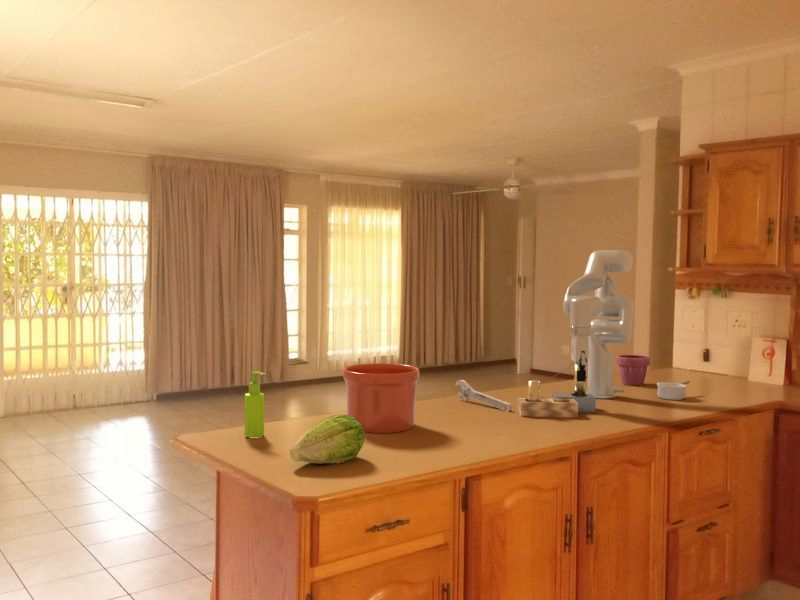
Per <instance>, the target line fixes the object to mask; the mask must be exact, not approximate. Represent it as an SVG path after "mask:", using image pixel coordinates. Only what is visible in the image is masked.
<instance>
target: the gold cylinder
mask: <svg viewBox="0 0 800 600" xmlns="http://www.w3.org/2000/svg"><path fill="white" fill-rule="evenodd" d="M574 368H575V377H574V376H573V377H574V382H573V383H574V387H573V388H574V390H573V391H574V396H585V391H586V387H587V386H586V385H587V384H586V381H587V380H586V381H585V382H584V381H577V370H578V364H575V363H574Z"/></svg>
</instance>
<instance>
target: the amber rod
mask: <svg viewBox="0 0 800 600" xmlns="http://www.w3.org/2000/svg"><path fill="white" fill-rule="evenodd" d="M527 383H528V385H527V386H528V389H527V398H528V402H539V398H540V397H541V396H540V391H541V390H540V388H541V381H540V380H537V379H536V380H535V379H530V380H528V382H527Z"/></svg>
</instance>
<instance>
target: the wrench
mask: <svg viewBox="0 0 800 600" xmlns="http://www.w3.org/2000/svg"><path fill="white" fill-rule="evenodd" d="M454 386H460V388H461V391H460V392H457V393H456V394H457V396H458V397H459V398H460V399H461V400H463V402H464V403H466V402H467V403H468V402H469V400H470V399H474V400H477V401H479V402H481V403H484V404H486V405H489V406H491V407H494V408H497V409H499V410H502V411H505V412H507V413H508V412H512V410H513V405H512V404H511V403H509V402H507V401H503V400H502V399H498V398H496V397H494V396H490V395H488V394H485V393H482V392H480V391H477V390H475V389H474V388H473V387H472V385H470V384H469V383H468V382H467V381H466V380H464V379H459V380H457V381H456V382H455V384H454ZM507 406H508V407H507Z"/></svg>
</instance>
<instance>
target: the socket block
mask: <svg viewBox="0 0 800 600" xmlns="http://www.w3.org/2000/svg"><path fill="white" fill-rule="evenodd" d="M551 399H574V400H575V401H576V402H577V403H578V413H589V414H590V413H596V405H597V404H596V403H597V401H596V399H597V398H595V397H594V396H593V395H592V394H591V393H585V396H574V392H573V391H572V392H570V391H569V392H567V391H562V392H561V391H560V392H559V391H553V392H552V397H551Z"/></svg>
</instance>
